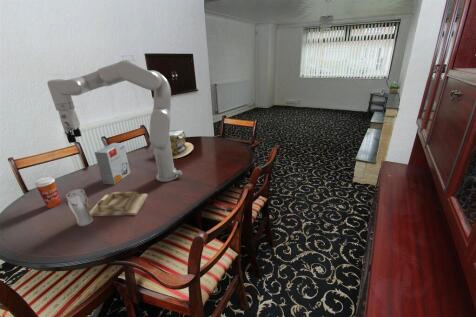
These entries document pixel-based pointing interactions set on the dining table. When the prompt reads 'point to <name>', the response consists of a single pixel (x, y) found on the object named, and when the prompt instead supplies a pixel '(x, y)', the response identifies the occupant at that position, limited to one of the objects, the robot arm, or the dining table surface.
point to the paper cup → (48, 191)
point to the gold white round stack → (179, 144)
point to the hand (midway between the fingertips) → (75, 139)
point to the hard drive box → (112, 163)
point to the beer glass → (80, 206)
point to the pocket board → (119, 204)
